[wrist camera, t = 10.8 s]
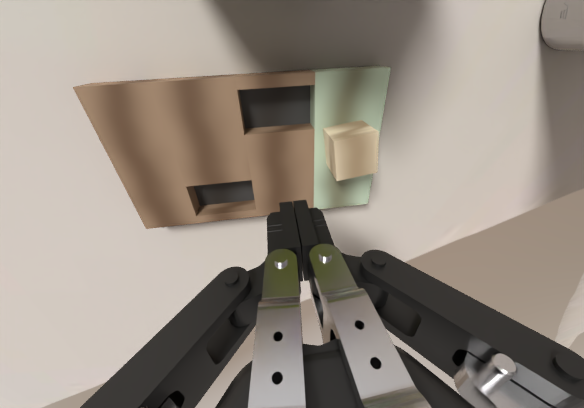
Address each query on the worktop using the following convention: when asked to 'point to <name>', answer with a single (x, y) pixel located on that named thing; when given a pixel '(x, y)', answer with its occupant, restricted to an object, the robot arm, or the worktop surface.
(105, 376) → the worktop surface
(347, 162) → the block
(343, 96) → the board
